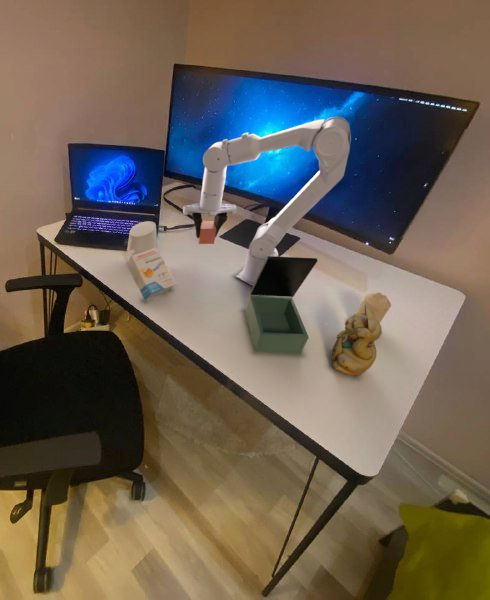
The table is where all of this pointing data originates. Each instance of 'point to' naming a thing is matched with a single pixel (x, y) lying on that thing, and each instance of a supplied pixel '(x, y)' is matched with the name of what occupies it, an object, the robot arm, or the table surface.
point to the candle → (375, 305)
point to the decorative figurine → (356, 344)
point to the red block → (207, 232)
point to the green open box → (275, 325)
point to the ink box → (149, 272)
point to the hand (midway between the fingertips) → (205, 235)
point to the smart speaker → (142, 237)
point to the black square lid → (282, 276)
